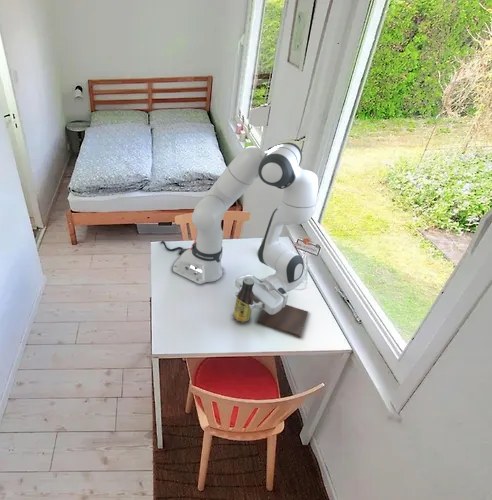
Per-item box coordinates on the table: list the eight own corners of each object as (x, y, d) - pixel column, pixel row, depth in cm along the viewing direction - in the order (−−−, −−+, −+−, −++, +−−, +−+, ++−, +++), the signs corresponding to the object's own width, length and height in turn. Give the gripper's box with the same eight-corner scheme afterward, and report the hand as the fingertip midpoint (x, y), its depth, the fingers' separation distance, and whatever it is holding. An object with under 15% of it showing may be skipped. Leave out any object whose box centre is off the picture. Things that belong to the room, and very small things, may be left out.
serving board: (257, 322, 148) (257, 320, 147) (266, 300, 157) (267, 298, 157) (300, 337, 141) (300, 335, 140) (307, 313, 151) (308, 311, 150)
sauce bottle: (229, 316, 151) (235, 277, 139) (242, 311, 153) (249, 272, 141) (239, 327, 146) (246, 287, 134) (253, 321, 148) (260, 282, 136)
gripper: (251, 267, 154) (225, 279, 149) (291, 297, 140) (263, 311, 134) (249, 279, 158) (223, 291, 152) (288, 309, 143) (261, 323, 138)
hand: (242, 301), depth 143 cm, fingers closed on sauce bottle, 6 cm apart
